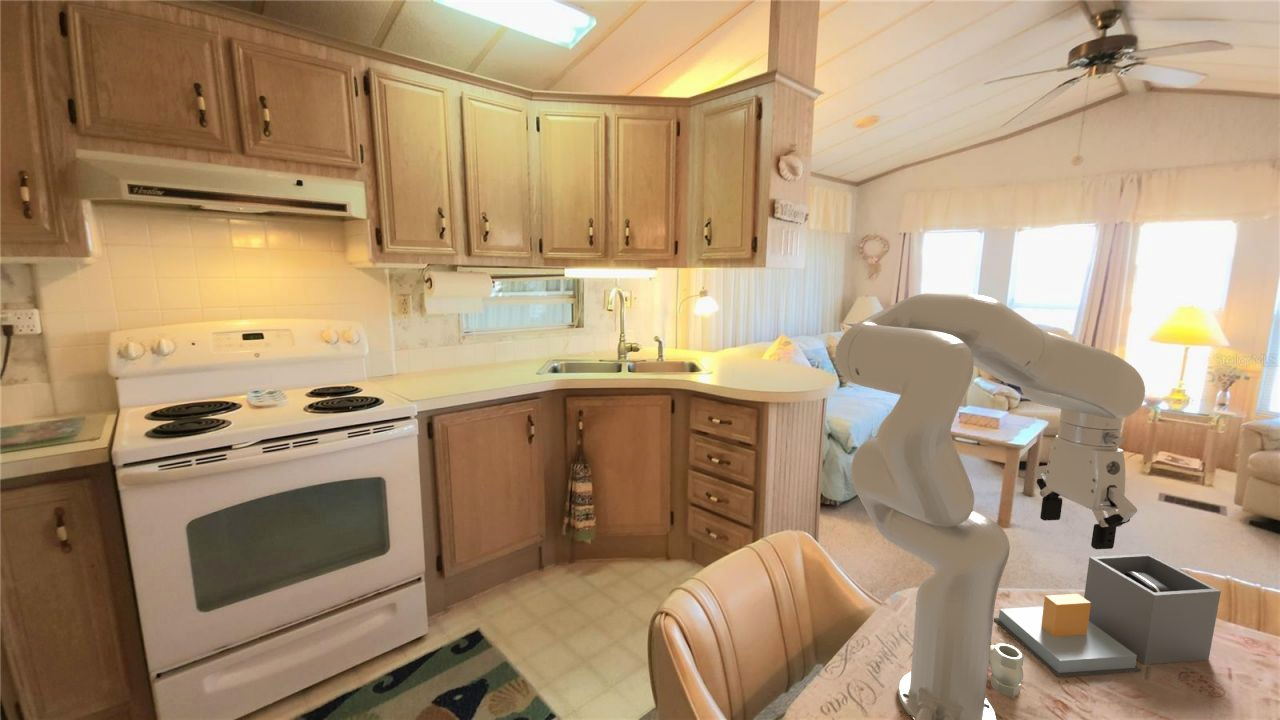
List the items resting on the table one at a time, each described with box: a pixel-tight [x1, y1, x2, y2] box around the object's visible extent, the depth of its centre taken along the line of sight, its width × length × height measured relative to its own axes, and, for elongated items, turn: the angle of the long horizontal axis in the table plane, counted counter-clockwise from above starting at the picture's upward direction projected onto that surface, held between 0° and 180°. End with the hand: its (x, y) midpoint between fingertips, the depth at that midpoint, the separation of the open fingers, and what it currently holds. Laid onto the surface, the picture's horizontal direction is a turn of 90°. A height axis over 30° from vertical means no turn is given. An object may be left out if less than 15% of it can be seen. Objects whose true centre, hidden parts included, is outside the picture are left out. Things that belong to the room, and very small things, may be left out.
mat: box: [993, 617, 1142, 678], centre depth 90 cm, size 14×14×1 cm
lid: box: [998, 593, 1137, 673], centre depth 89 cm, size 13×13×8 cm
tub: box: [1083, 553, 1222, 666], centre depth 90 cm, size 11×11×12 cm
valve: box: [989, 642, 1025, 699], centre depth 84 cm, size 7×7×12 cm
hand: (1074, 533), depth 87 cm, fingers open, 9 cm apart
